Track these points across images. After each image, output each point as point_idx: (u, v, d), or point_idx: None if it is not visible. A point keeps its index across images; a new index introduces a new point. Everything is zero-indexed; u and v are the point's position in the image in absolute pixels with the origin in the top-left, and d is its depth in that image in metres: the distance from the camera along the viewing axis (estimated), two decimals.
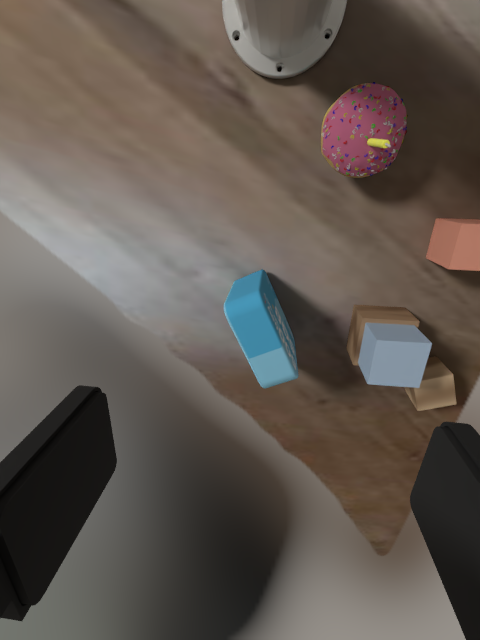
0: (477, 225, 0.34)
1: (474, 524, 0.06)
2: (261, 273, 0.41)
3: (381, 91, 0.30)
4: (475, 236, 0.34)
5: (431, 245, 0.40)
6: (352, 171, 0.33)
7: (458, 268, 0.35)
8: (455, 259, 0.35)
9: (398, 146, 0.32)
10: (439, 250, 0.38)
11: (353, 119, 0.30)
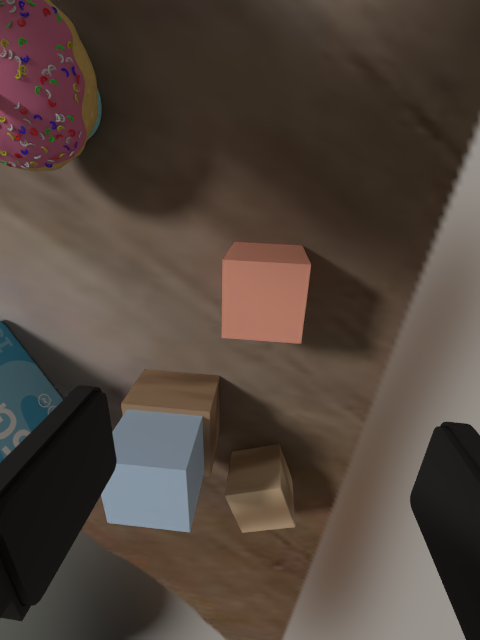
0: (250, 263, 0.18)
1: (474, 524, 0.06)
2: None
3: None
4: (251, 283, 0.18)
5: None
6: (6, 158, 0.17)
7: (237, 336, 0.20)
8: (229, 322, 0.19)
9: (69, 108, 0.16)
10: None
11: None
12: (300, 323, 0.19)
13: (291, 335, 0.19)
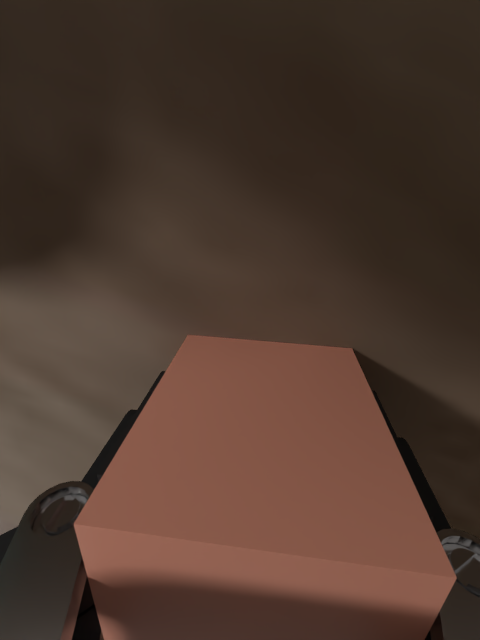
0: (189, 547, 0.04)
1: None
2: None
3: None
4: (198, 596, 0.05)
5: None
6: None
7: None
8: None
9: None
10: None
11: None
12: None
13: None
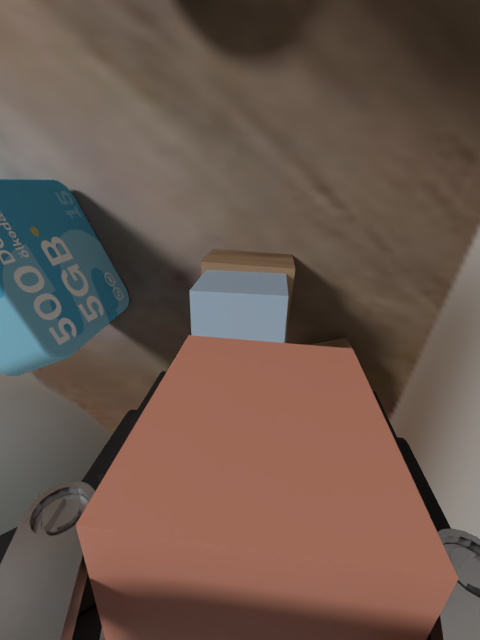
0: (191, 547, 0.04)
1: None
2: None
3: None
4: (200, 597, 0.05)
5: None
6: None
7: None
8: None
9: None
10: None
11: None
12: None
13: None
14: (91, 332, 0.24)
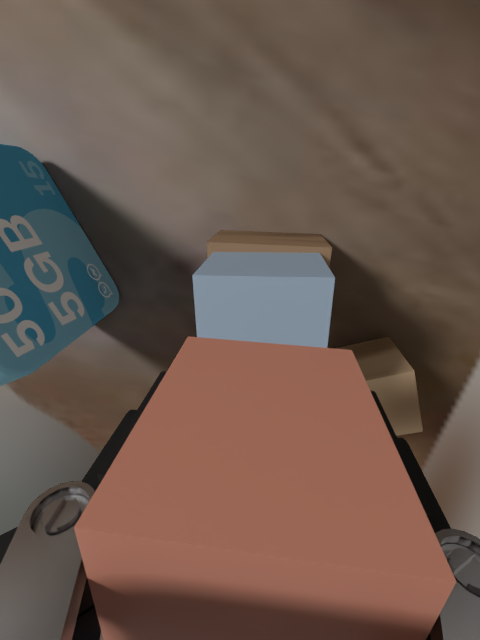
0: (189, 550, 0.04)
1: None
2: None
3: None
4: (199, 600, 0.05)
5: None
6: None
7: None
8: None
9: None
10: None
11: None
12: None
13: None
14: (66, 338, 0.18)
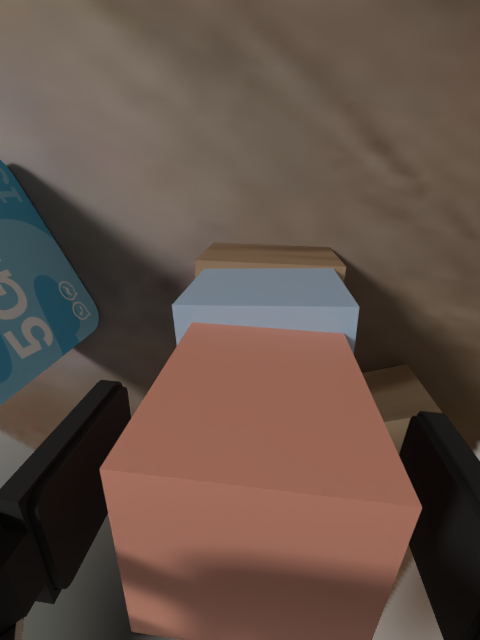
0: (197, 487, 0.05)
1: (442, 505, 0.07)
2: None
3: None
4: (205, 534, 0.05)
5: None
6: None
7: (176, 635, 0.07)
8: (147, 606, 0.07)
9: None
10: None
11: None
12: (363, 634, 0.06)
13: None
14: (27, 375, 0.15)
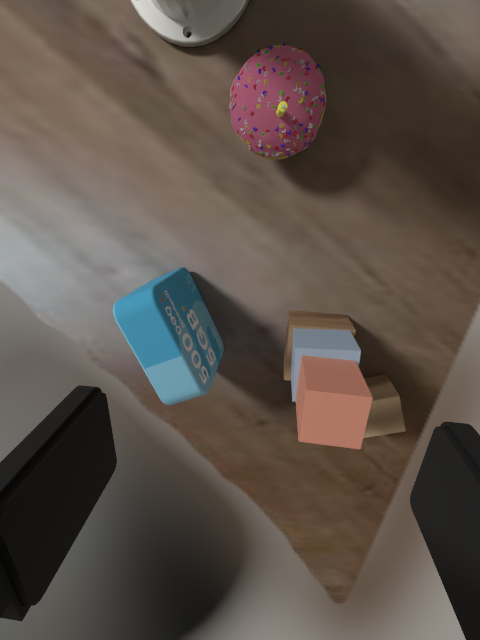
0: (327, 394, 0.24)
1: (474, 524, 0.06)
2: (177, 270, 0.35)
3: (291, 53, 0.25)
4: (326, 406, 0.25)
5: (298, 388, 0.30)
6: (265, 150, 0.28)
7: (311, 441, 0.26)
8: (306, 431, 0.26)
9: (316, 120, 0.27)
10: (298, 403, 0.29)
11: (259, 85, 0.26)
12: (361, 435, 0.25)
13: (353, 443, 0.26)
14: (213, 374, 0.35)
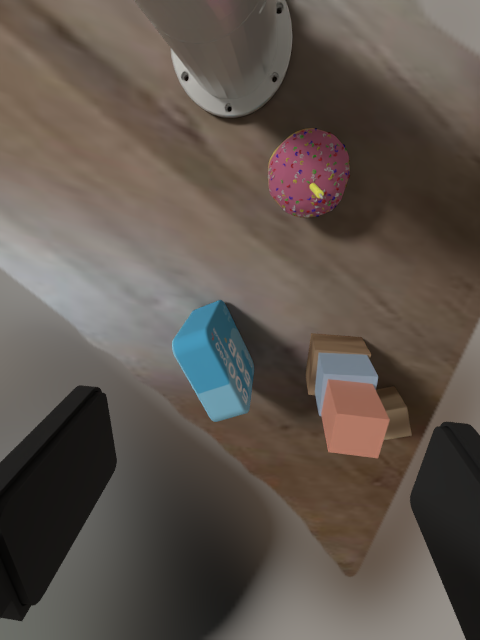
0: (353, 416, 0.31)
1: (474, 524, 0.06)
2: (217, 305, 0.41)
3: (322, 138, 0.30)
4: (352, 426, 0.31)
5: (324, 405, 0.37)
6: (298, 212, 0.33)
7: (338, 452, 0.32)
8: (334, 444, 0.32)
9: (341, 190, 0.32)
10: (326, 419, 0.35)
11: (295, 164, 0.31)
12: (379, 447, 0.32)
13: (372, 453, 0.32)
14: (250, 393, 0.41)
